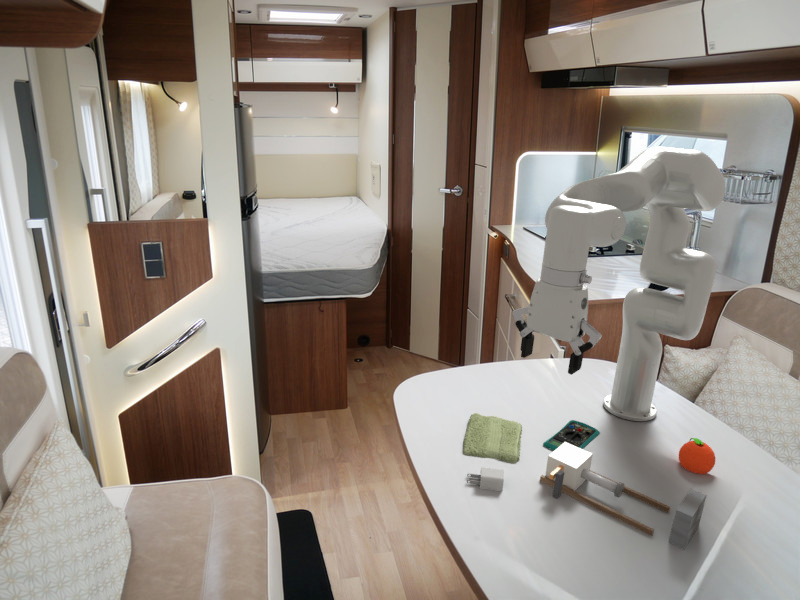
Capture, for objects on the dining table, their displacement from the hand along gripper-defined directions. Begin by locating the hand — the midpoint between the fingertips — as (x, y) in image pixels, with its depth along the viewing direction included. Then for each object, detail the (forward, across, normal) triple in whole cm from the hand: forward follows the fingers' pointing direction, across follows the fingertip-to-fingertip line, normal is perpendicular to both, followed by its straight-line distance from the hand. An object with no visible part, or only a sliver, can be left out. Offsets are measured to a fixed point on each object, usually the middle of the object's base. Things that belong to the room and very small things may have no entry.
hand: (549, 363), depth 111 cm
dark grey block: (+25, -6, +2) cm, 26 cm away
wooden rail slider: (+26, -14, -3) cm, 30 cm away
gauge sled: (+25, -9, -2) cm, 26 cm away
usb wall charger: (+27, +6, +9) cm, 29 cm away
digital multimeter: (+26, 0, -19) cm, 32 cm away
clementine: (+26, -23, -28) cm, 44 cm away
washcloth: (+27, +14, -6) cm, 31 cm away
